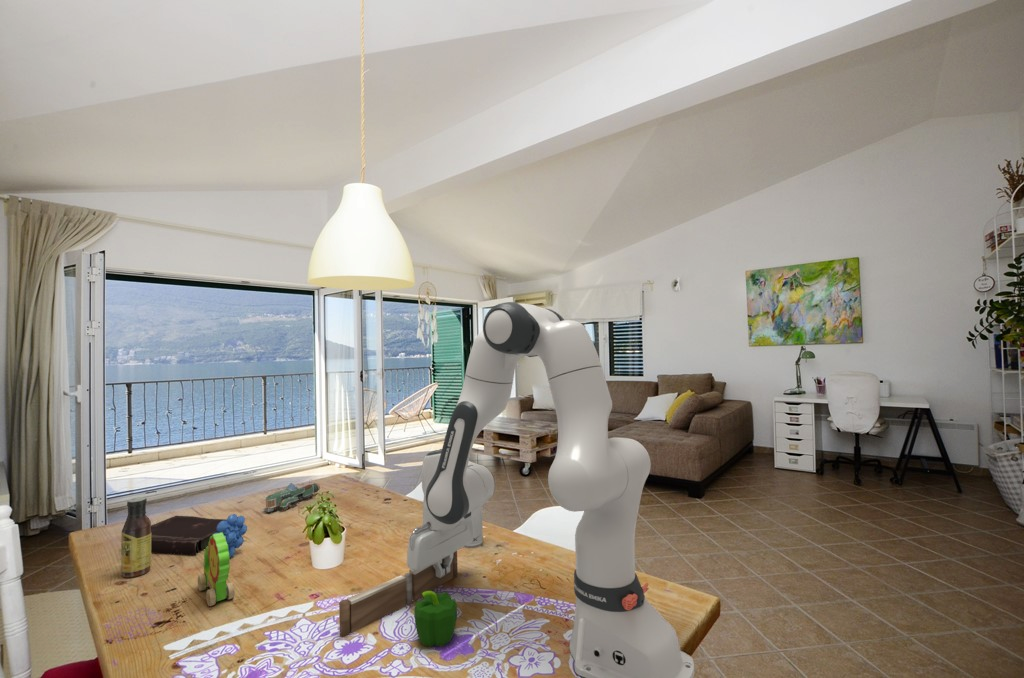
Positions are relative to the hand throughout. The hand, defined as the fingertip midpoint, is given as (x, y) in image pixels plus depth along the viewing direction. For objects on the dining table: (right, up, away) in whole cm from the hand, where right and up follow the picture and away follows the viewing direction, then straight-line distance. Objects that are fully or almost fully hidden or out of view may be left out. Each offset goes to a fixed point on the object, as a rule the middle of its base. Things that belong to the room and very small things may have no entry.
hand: (443, 574), depth 112 cm
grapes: (-65, -6, +21) cm, 68 cm away
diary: (-86, -7, +34) cm, 92 cm away
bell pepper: (+2, -3, -20) cm, 20 cm away
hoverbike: (-68, -7, +68) cm, 96 cm away
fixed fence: (-12, -3, -12) cm, 17 cm away
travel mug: (+5, -4, +25) cm, 26 cm away
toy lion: (-54, -5, 0) cm, 55 cm away
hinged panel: (-2, -3, +1) cm, 4 cm away
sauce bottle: (-84, -6, +12) cm, 85 cm away
